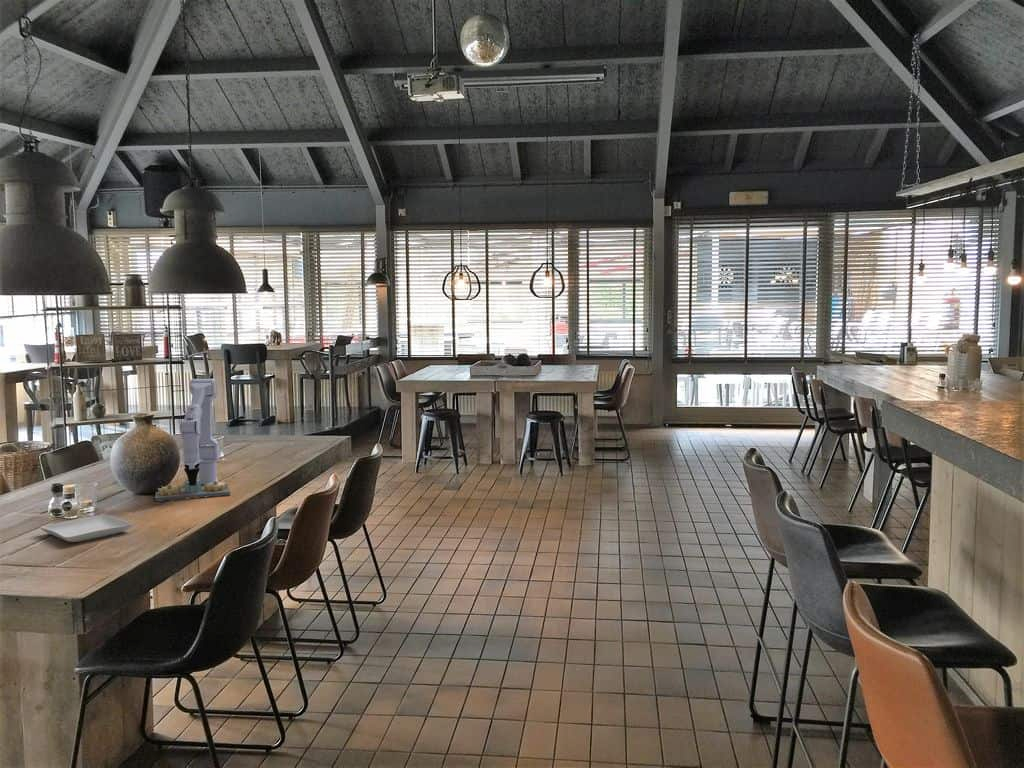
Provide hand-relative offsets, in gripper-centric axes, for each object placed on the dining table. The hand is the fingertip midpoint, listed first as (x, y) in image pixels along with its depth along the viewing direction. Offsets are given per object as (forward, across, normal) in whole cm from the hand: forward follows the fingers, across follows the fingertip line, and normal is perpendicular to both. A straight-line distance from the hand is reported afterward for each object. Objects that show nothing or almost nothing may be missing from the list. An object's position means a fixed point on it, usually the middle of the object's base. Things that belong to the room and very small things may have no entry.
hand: (192, 483), depth 317 cm
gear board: (+4, 0, 0) cm, 4 cm away
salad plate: (+5, -44, +33) cm, 55 cm away
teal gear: (+3, 0, 0) cm, 3 cm away
